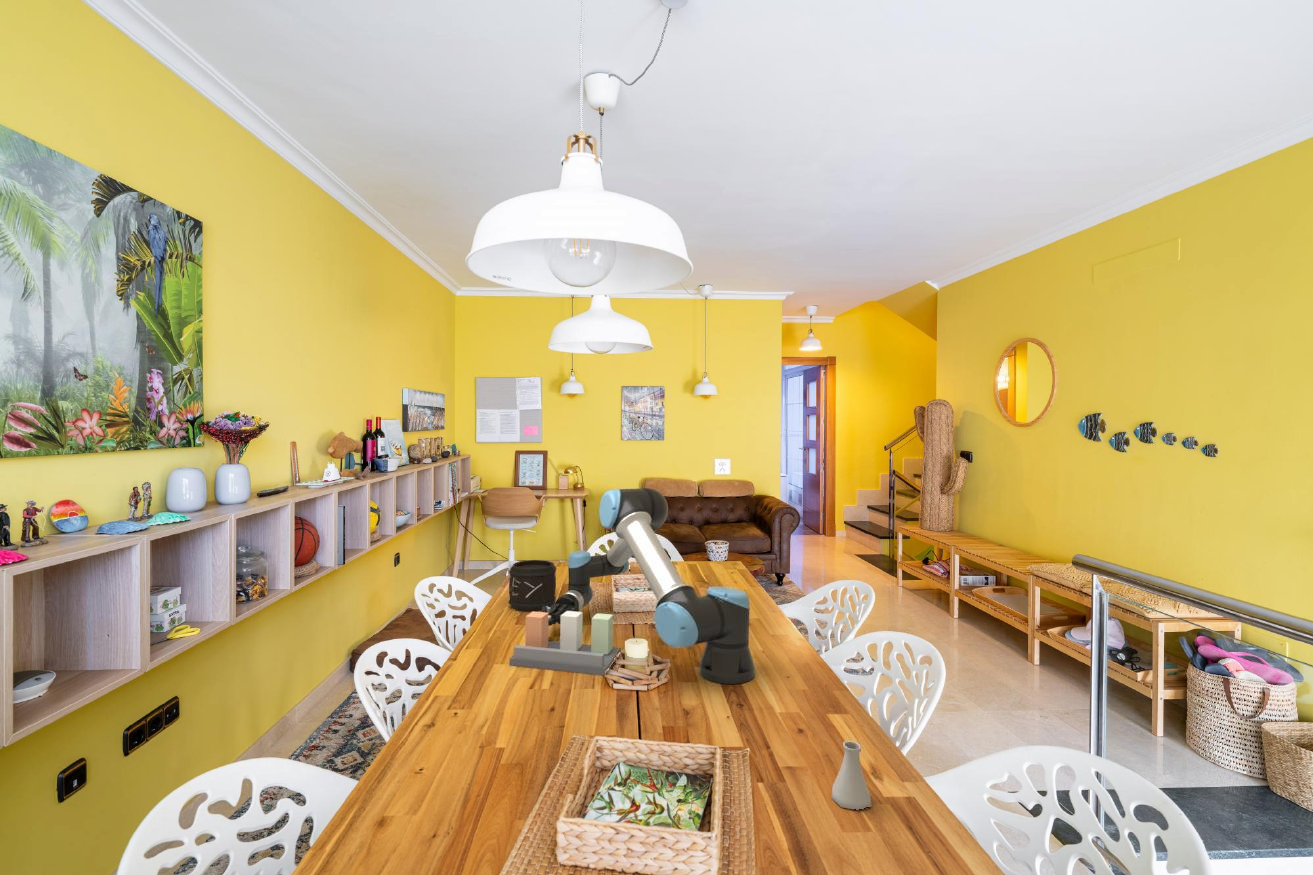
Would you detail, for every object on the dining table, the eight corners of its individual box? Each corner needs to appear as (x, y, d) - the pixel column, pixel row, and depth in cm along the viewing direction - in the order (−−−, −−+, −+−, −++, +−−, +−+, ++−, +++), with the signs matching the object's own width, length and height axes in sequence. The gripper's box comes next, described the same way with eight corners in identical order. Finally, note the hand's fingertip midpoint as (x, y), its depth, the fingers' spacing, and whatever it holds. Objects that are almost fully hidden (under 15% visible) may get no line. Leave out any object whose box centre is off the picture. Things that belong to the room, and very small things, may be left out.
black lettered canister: (498, 604, 229) (498, 563, 229) (540, 596, 241) (540, 557, 241) (522, 616, 216) (522, 572, 216) (565, 607, 228) (565, 565, 227)
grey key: (582, 645, 181) (582, 612, 181) (576, 651, 176) (576, 617, 176) (566, 644, 182) (566, 610, 182) (560, 649, 177) (560, 615, 177)
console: (621, 654, 180) (621, 637, 180) (604, 675, 165) (605, 657, 165) (533, 645, 186) (533, 629, 186) (509, 665, 171) (509, 647, 171)
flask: (863, 787, 115) (864, 734, 114) (878, 811, 107) (879, 755, 107) (825, 787, 114) (826, 734, 114) (838, 811, 107) (839, 755, 107)
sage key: (612, 648, 179) (613, 614, 179) (607, 654, 174) (608, 619, 174) (596, 646, 180) (597, 613, 180) (591, 652, 175) (591, 618, 175)
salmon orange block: (548, 646, 180) (548, 612, 180) (541, 652, 175) (541, 617, 175) (532, 644, 181) (532, 611, 181) (525, 650, 176) (525, 616, 176)
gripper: (587, 617, 202) (560, 641, 179) (550, 614, 205) (519, 637, 182) (587, 594, 202) (561, 615, 179) (550, 591, 205) (520, 612, 182)
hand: (540, 626), depth 181 cm, fingers closed
